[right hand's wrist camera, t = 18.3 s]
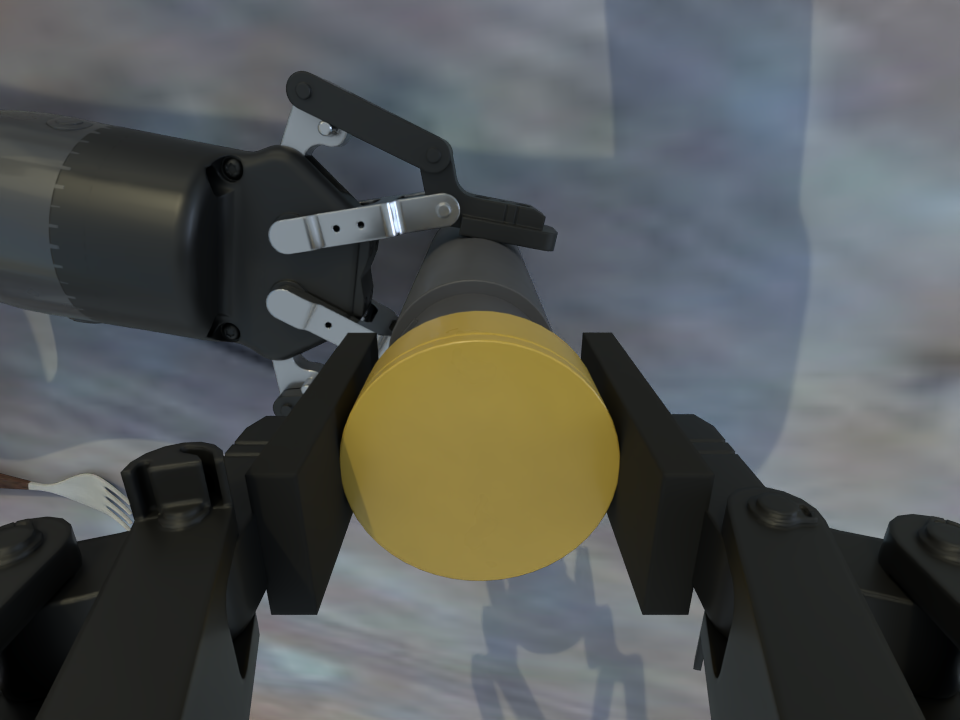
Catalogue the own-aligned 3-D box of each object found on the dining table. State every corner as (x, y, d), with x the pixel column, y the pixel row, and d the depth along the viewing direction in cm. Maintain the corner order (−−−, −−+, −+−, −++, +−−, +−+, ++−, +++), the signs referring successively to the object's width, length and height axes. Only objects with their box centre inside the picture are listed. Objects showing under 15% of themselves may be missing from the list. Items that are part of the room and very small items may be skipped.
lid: (401, 272, 11) (385, 296, 9) (641, 359, 11) (671, 398, 10) (333, 484, 13) (308, 539, 11) (543, 547, 13) (553, 610, 11)
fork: (-127, 437, 31) (-165, 456, 30) (149, 481, 33) (130, 501, 31) (-118, 474, 32) (-154, 494, 31) (151, 515, 34) (132, 536, 32)
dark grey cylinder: (464, 318, 29) (453, 498, 14) (411, 249, 28) (337, 369, 13) (535, 269, 28) (602, 407, 13) (484, 194, 27) (494, 256, 12)
